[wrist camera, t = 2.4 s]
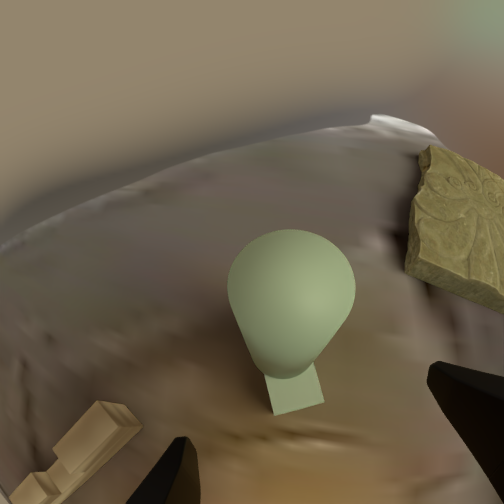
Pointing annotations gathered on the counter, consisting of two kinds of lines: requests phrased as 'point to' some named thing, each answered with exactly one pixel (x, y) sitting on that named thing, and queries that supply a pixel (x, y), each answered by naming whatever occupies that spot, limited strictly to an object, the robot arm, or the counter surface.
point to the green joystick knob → (290, 309)
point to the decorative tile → (458, 228)
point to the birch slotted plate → (80, 454)
